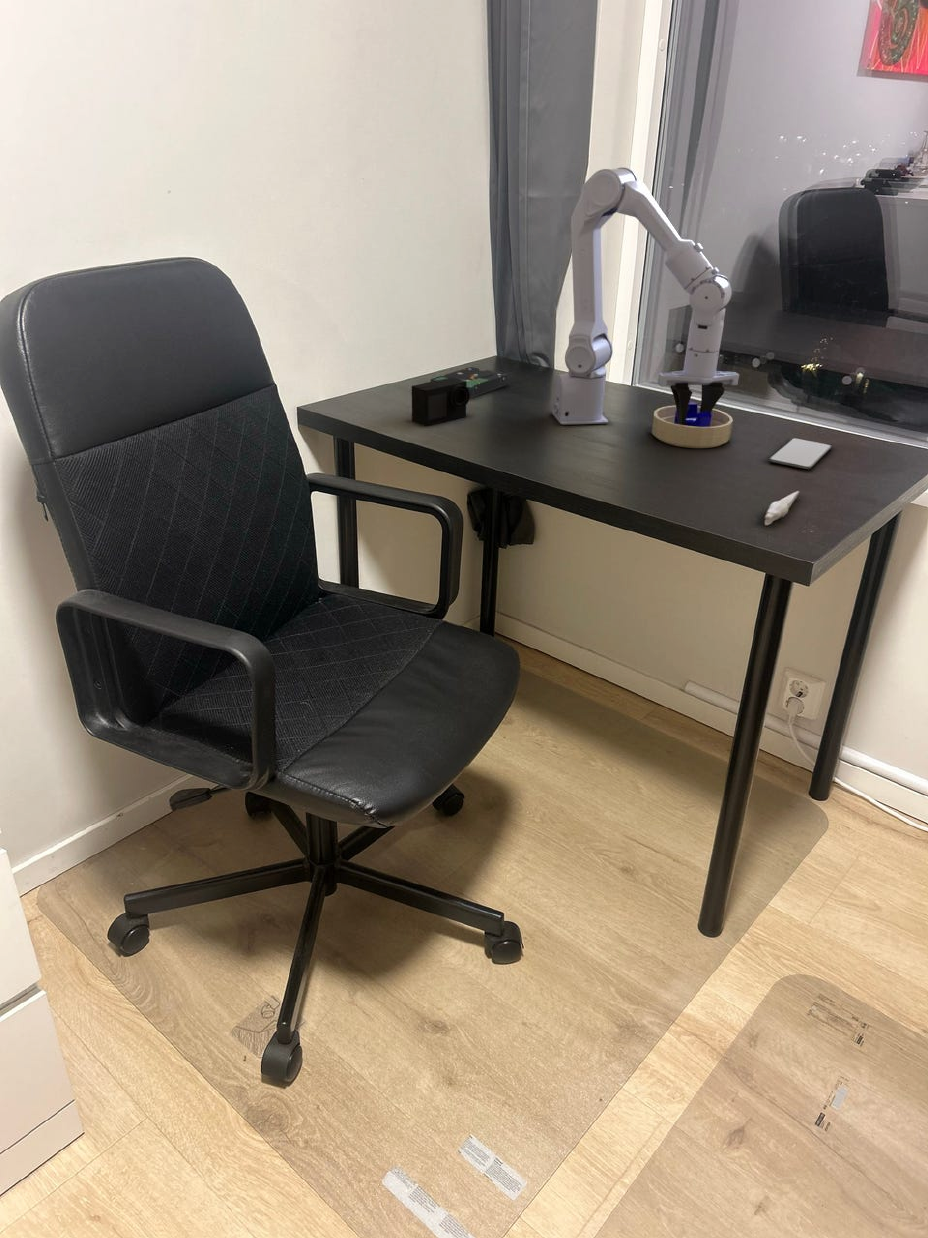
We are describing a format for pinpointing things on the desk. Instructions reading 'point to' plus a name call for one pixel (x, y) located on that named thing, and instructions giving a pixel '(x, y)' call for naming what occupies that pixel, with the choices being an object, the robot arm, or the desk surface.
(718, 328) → the robot arm
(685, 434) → the bowl
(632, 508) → the desk surface
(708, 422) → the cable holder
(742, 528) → the desk surface
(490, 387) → the disk drive
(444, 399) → the digital camera
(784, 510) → the spindle seashell
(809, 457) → the smartphone
